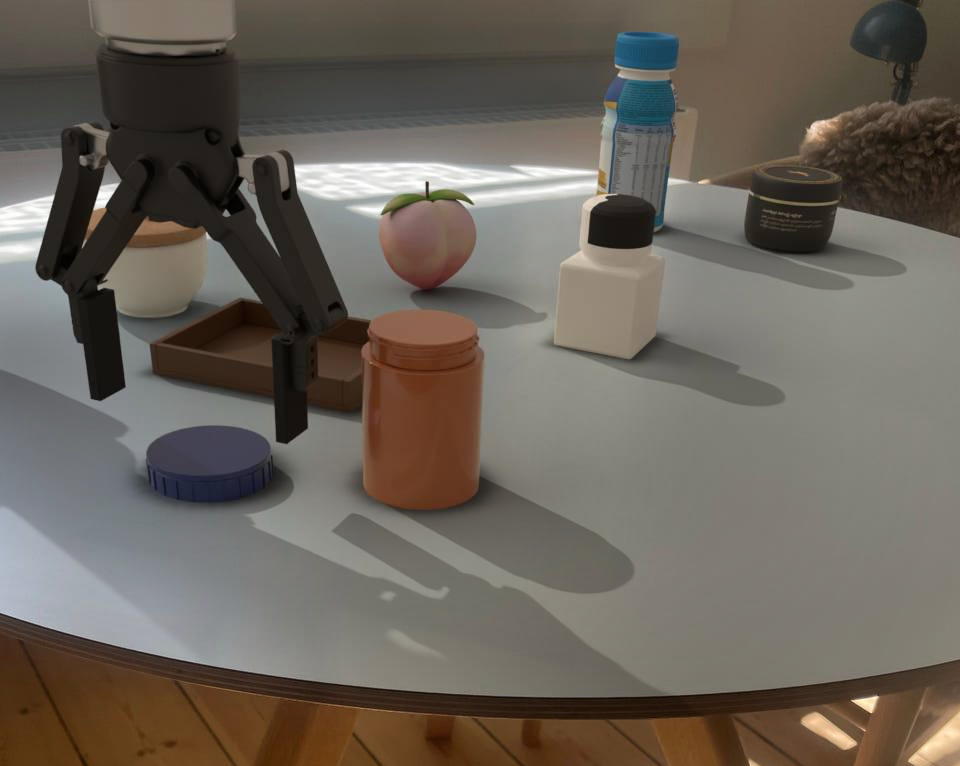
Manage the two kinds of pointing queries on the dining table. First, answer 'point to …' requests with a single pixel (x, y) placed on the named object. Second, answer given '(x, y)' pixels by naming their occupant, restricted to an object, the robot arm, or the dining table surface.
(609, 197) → the medicine bottle
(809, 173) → the jar
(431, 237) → the decorative fruit
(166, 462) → the lid
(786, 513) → the dining table surface
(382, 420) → the honey jar
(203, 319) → the tray
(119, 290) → the trinket box
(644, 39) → the beverage bottle
